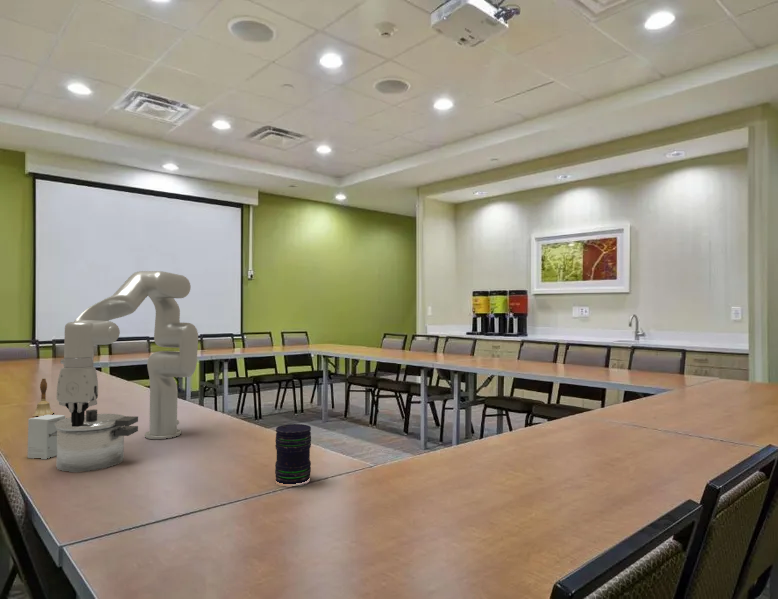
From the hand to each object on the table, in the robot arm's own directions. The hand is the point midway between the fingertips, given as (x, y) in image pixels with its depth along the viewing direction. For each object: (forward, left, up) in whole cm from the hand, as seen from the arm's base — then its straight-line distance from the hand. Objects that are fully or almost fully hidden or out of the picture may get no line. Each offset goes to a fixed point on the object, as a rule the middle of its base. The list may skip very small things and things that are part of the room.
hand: (77, 425), depth 154 cm
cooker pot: (-8, +2, -13) cm, 15 cm away
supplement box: (-14, -18, -14) cm, 27 cm away
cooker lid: (-7, +2, -1) cm, 7 cm away
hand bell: (-75, -60, -14) cm, 97 cm away
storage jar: (+8, +66, -14) cm, 67 cm away
